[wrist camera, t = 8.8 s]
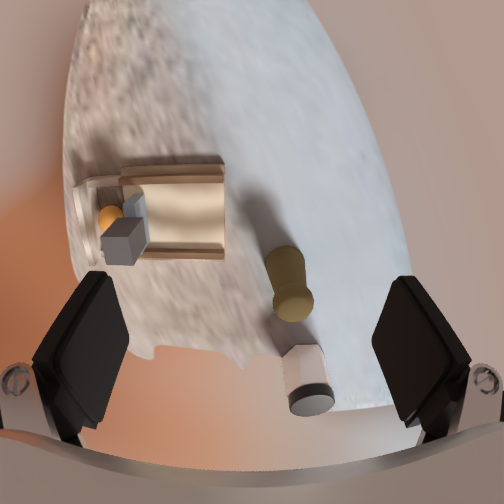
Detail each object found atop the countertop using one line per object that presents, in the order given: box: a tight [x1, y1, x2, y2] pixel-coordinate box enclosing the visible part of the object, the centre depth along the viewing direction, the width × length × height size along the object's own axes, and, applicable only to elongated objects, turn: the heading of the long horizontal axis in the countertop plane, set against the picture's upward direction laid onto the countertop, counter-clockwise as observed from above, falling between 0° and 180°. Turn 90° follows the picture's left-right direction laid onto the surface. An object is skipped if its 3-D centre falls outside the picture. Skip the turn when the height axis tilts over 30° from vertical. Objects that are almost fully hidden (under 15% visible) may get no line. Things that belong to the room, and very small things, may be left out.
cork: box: [265, 246, 314, 322], centre depth 39 cm, size 6×6×11 cm
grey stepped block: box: [100, 194, 150, 266], centre depth 34 cm, size 7×4×9 cm, turn 178°
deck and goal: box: [72, 164, 225, 266], centre depth 37 cm, size 14×20×5 cm
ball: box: [98, 205, 124, 232], centre depth 38 cm, size 4×4×4 cm
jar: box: [282, 344, 335, 417], centre depth 50 cm, size 9×8×12 cm
